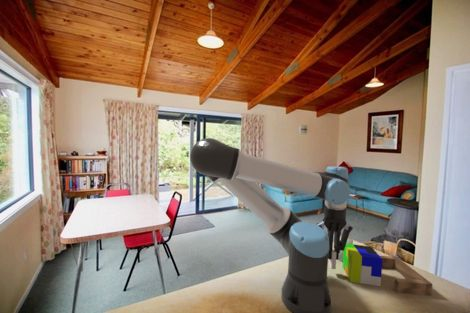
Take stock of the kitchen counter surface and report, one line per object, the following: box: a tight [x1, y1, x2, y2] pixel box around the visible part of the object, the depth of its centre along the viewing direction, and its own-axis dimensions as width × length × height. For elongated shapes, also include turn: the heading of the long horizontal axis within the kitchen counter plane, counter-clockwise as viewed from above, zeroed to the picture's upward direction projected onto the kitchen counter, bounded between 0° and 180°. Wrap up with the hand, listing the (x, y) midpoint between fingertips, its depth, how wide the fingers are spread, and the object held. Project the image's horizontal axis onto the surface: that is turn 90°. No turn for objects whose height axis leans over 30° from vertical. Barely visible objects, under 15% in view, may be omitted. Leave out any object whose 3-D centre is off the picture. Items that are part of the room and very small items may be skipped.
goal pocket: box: [379, 255, 433, 296], centre depth 83 cm, size 11×18×4 cm, turn 177°
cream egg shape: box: [337, 235, 354, 263], centre depth 96 cm, size 6×6×9 cm
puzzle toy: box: [342, 243, 383, 287], centre depth 84 cm, size 10×10×10 cm
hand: (332, 266), depth 85 cm, fingers closed
